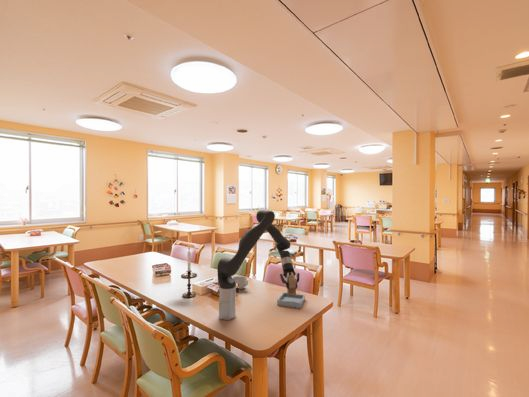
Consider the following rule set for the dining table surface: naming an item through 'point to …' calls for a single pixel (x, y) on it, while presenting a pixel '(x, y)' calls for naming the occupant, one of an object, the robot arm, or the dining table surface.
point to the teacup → (241, 281)
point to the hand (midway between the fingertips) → (292, 288)
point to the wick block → (291, 285)
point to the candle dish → (291, 300)
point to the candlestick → (189, 276)
